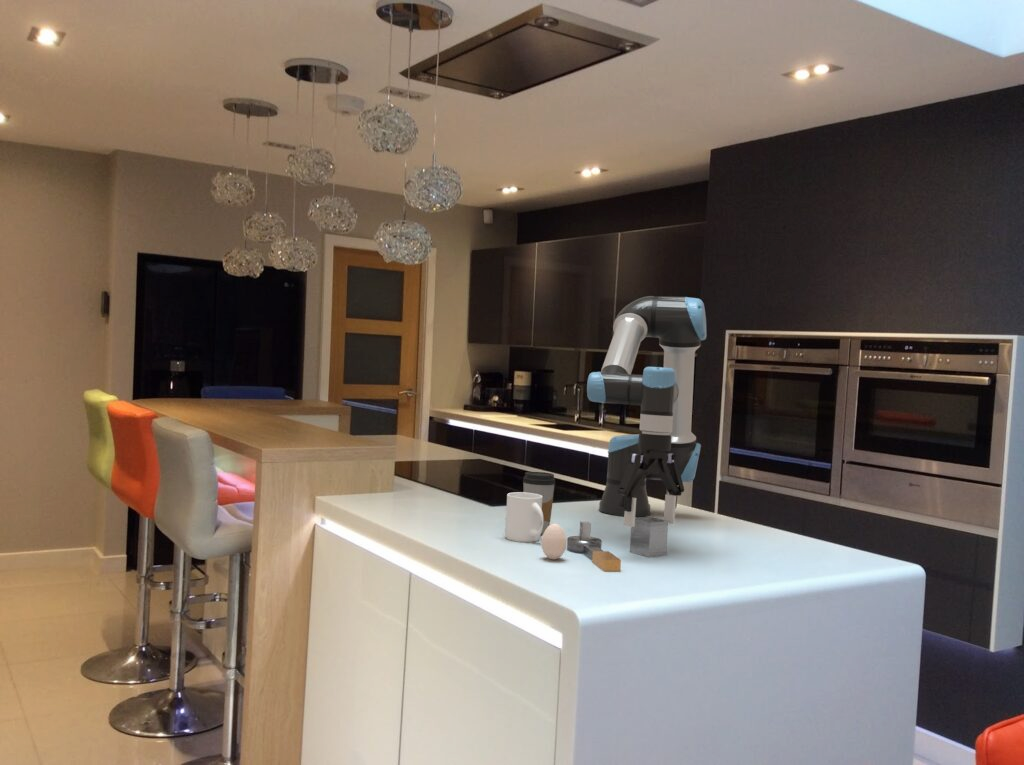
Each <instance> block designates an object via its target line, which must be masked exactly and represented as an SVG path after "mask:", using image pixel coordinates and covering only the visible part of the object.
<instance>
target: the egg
mask: <svg viewBox="0 0 1024 765" xmlns="http://www.w3.org/2000/svg"><path fill="white" fill-rule="evenodd" d="M541 549H542V552H543V554H544V556H545V557H547V559H549V560H557V559H560V558H561V557H562V556H563V554H565V553H566V552H565V551H566V550H567V535H566V533H565V531H564V528H563V527H562V526H561V525H560V524H559V523H552V524H550V525H549V526H548V527H547V529H546V530H545V532H544V534H543V535H541Z"/></svg>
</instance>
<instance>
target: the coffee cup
mask: <svg viewBox="0 0 1024 765" xmlns="http://www.w3.org/2000/svg"><path fill="white" fill-rule="evenodd" d="M522 484H523V491H522V492H525V493H534V494H539V495H542V512H543V519H544V521H543V529H542V532H541V534H540V536H543V534H544V532H545V530H546V529H547V527H548V526H549V525H551V524H550V523H551V517H552V509H553V501H554V493H555V485H556V478H555V475H554V473H550V472H543V471H526V472H524V476H523V480H522ZM541 525H542V522H541Z"/></svg>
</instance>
